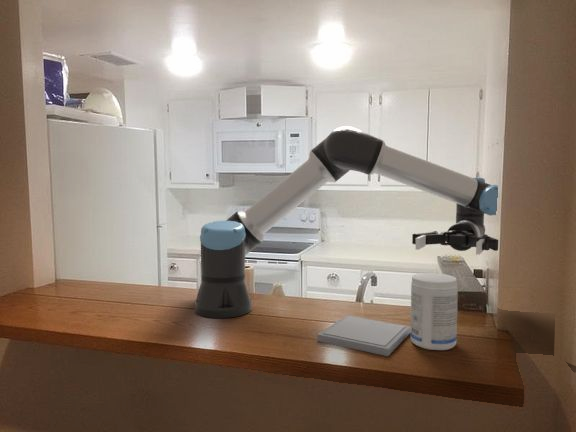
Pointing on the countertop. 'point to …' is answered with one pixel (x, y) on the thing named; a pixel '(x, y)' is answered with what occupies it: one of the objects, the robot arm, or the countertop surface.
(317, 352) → the countertop surface
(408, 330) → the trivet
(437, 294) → the supplement tub
